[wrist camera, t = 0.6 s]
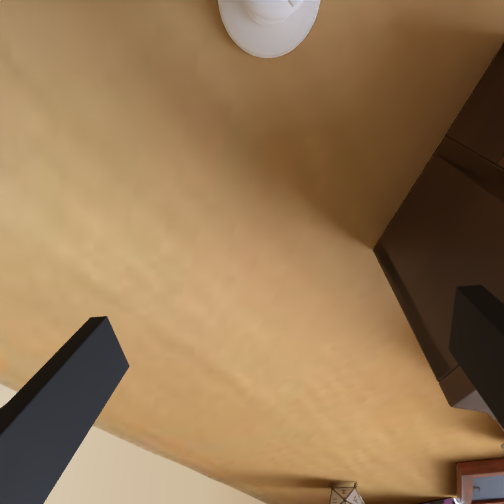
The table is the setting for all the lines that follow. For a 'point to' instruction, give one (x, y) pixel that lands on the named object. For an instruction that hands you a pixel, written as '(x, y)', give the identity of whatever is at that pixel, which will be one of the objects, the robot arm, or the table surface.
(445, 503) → the candy box
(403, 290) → the step shelf
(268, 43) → the chess piece
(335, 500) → the game die
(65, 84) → the table surface
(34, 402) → the robot arm
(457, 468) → the picture frame
